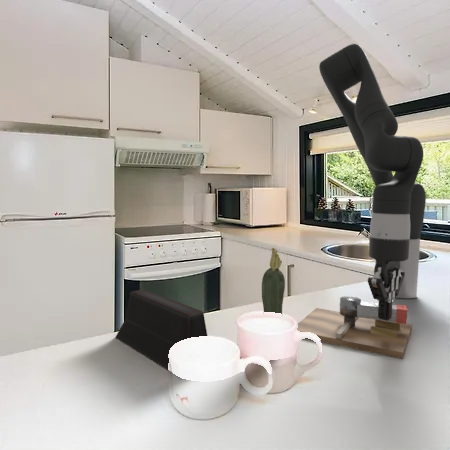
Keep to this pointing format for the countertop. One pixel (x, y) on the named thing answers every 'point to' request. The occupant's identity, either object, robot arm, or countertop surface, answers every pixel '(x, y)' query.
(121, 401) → the countertop surface
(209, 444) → the countertop surface
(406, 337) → the door board
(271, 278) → the vegetable
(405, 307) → the bar
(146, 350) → the barrier
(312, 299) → the countertop surface
